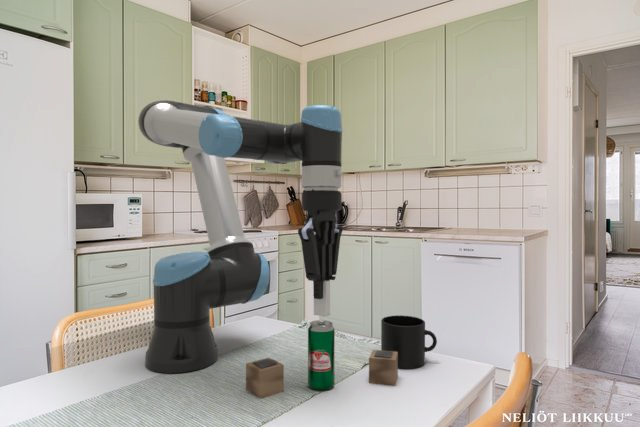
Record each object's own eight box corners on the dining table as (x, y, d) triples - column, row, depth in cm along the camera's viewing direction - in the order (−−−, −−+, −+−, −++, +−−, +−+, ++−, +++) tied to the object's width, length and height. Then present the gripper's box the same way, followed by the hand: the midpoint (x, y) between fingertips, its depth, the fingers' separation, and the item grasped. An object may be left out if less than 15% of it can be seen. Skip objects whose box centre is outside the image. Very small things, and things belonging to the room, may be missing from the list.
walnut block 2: (369, 383, 84) (369, 356, 84) (372, 373, 89) (372, 348, 89) (395, 386, 83) (395, 359, 83) (397, 376, 88) (397, 350, 88)
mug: (440, 371, 91) (440, 327, 90) (382, 368, 92) (382, 325, 92) (433, 355, 100) (433, 316, 100) (380, 353, 101) (380, 314, 101)
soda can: (304, 390, 81) (304, 325, 81) (311, 379, 86) (311, 318, 86) (331, 392, 80) (331, 327, 80) (336, 382, 85) (336, 320, 85)
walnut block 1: (246, 390, 81) (246, 362, 81) (268, 383, 84) (268, 356, 84) (260, 399, 77) (260, 370, 77) (283, 391, 81) (283, 363, 81)
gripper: (321, 188, 75) (321, 325, 75) (354, 190, 86) (354, 310, 86) (285, 189, 79) (285, 320, 79) (321, 191, 90) (322, 306, 90)
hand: (321, 314), depth 83 cm, fingers closed
